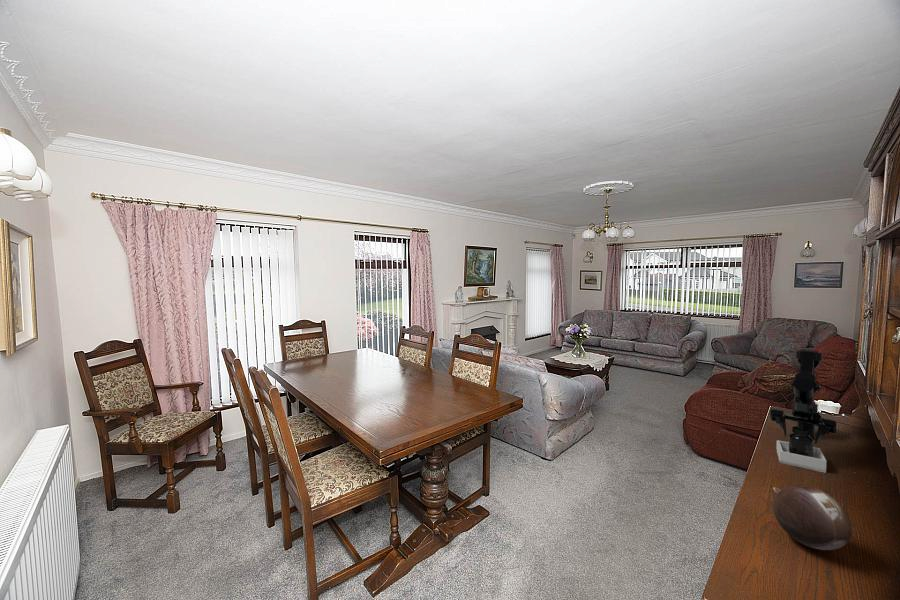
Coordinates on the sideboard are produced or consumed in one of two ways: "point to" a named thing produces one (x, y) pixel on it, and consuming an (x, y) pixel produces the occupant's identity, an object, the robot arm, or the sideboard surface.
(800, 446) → the supplement bottle
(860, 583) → the sideboard surface
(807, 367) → the robot arm
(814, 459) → the tray
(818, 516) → the dark glossy egg
